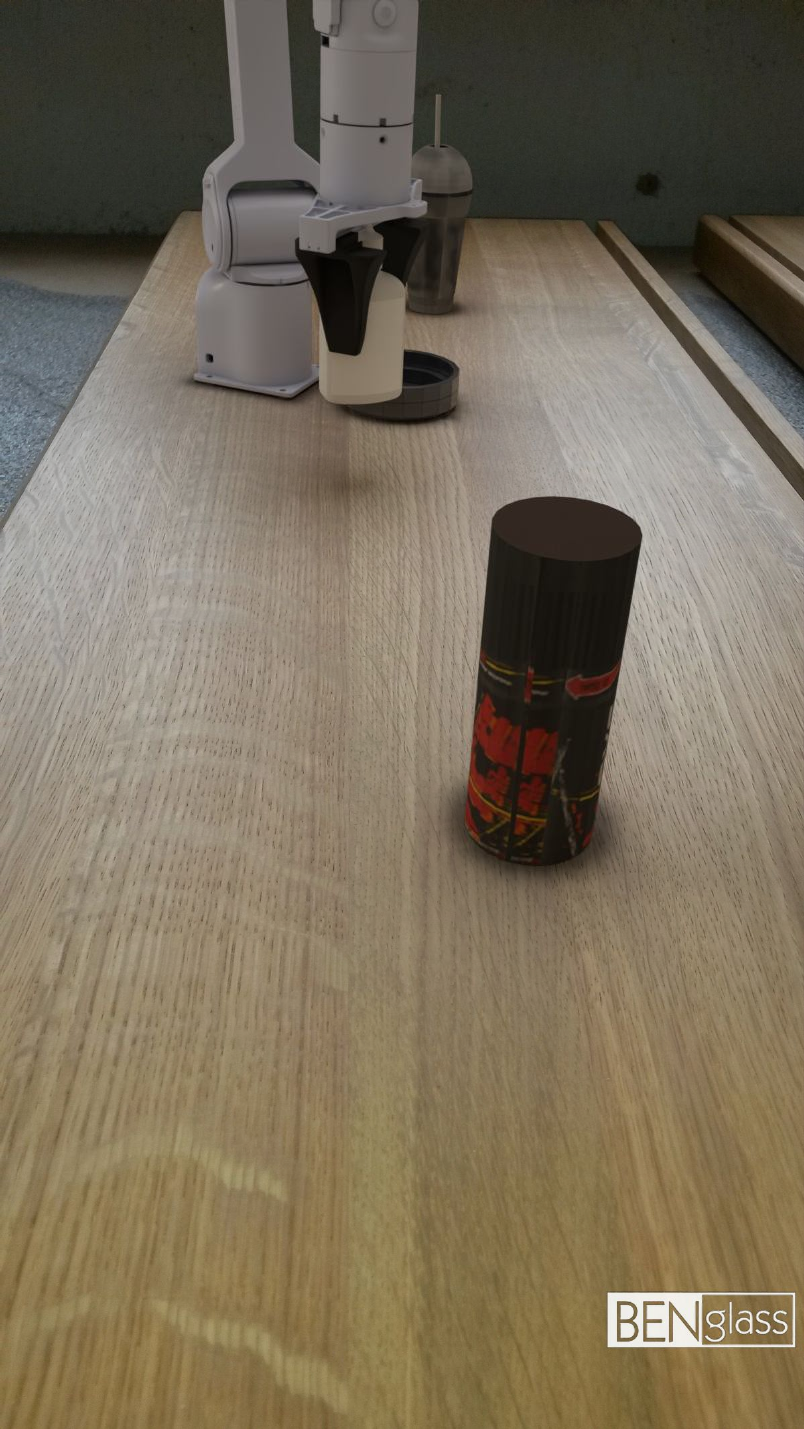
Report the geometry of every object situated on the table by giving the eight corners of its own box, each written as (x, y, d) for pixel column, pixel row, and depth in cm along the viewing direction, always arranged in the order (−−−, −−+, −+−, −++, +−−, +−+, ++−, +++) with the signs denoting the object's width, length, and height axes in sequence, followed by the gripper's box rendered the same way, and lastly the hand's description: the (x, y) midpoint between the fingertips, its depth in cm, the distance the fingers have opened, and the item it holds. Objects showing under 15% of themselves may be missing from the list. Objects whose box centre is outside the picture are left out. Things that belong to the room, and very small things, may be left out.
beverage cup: (473, 303, 128) (489, 92, 117) (453, 321, 123) (468, 101, 111) (408, 294, 130) (418, 85, 119) (385, 311, 124) (393, 94, 113)
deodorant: (457, 785, 59) (481, 495, 50) (578, 783, 59) (622, 496, 51) (473, 867, 54) (503, 561, 45) (605, 863, 54) (659, 561, 46)
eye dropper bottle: (395, 411, 82) (402, 223, 75) (313, 403, 83) (314, 216, 76) (405, 389, 86) (413, 209, 79) (327, 382, 86) (328, 202, 80)
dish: (318, 410, 100) (318, 374, 98) (367, 375, 108) (368, 342, 106) (431, 432, 97) (433, 395, 95) (473, 394, 105) (476, 360, 103)
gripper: (378, 143, 68) (371, 382, 75) (469, 112, 79) (454, 323, 86) (266, 130, 70) (270, 364, 77) (369, 101, 81) (364, 308, 89)
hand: (361, 341), depth 82 cm, fingers closed on eye dropper bottle, 5 cm apart
